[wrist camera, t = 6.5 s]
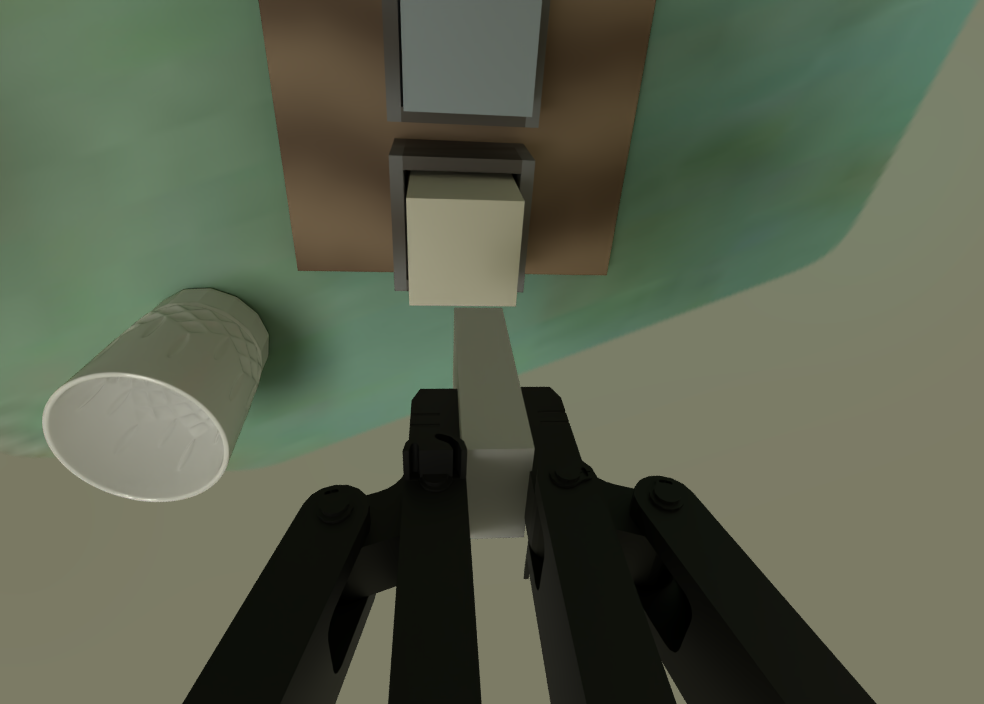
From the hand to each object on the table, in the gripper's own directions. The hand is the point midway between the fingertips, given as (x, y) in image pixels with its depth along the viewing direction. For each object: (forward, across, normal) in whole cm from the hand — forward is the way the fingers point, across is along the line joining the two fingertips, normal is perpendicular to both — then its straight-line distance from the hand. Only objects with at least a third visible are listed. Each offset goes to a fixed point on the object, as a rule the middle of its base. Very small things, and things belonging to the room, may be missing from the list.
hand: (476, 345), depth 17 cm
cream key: (+12, 0, 0) cm, 12 cm away
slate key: (+12, 0, +8) cm, 15 cm away
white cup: (+16, -15, -8) cm, 24 cm away
